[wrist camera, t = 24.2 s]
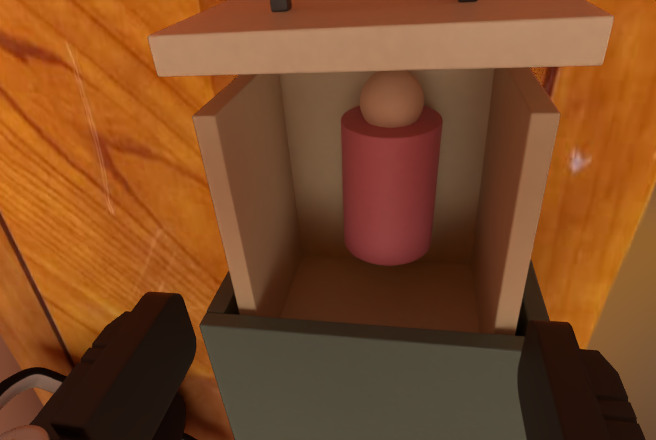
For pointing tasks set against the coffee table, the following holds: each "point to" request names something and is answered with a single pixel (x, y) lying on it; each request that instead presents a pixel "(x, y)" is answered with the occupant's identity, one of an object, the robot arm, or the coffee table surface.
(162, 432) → the mug
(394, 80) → the doll
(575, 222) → the coffee table surface
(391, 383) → the cabinet
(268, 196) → the drawer
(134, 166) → the coffee table surface
